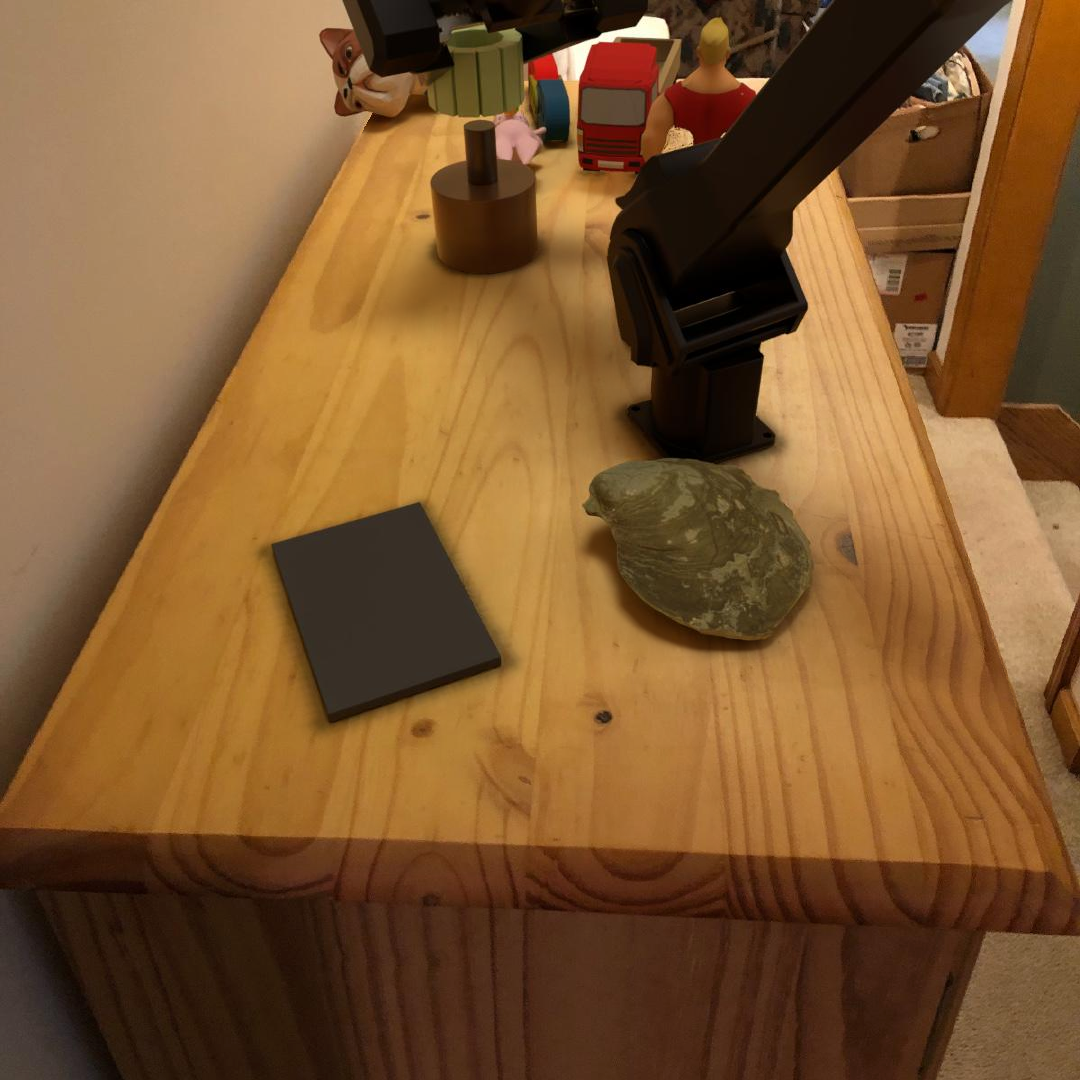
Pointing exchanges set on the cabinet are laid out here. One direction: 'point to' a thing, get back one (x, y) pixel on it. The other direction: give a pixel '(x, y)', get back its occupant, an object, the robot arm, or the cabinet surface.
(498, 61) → the ring
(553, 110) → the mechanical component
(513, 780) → the cabinet surface
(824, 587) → the cabinet surface
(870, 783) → the cabinet surface
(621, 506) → the seashell
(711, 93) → the action figure
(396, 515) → the pad
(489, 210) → the stand
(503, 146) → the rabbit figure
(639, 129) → the toy truck
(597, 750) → the cabinet surface
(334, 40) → the figurine
